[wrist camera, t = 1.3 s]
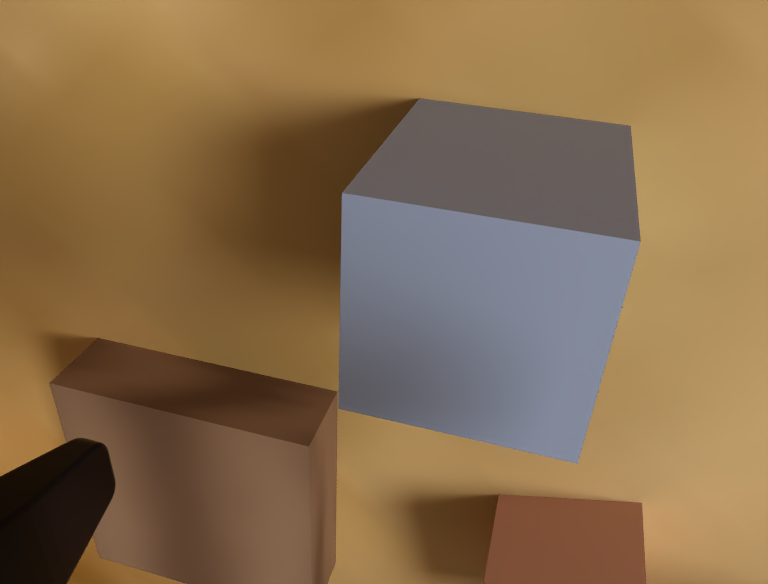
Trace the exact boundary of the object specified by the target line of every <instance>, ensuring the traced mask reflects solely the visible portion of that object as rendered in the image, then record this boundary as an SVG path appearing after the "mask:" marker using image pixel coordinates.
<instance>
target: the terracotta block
mask: <svg viewBox="0 0 768 584" xmlns="http://www.w3.org/2000/svg"><path fill="white" fill-rule="evenodd" d="M483 584H646V572H645V552H644V533H643V513H642V503H634V502H617V501H600V500H583V499H567V498H550V497H533V496H516V495H499V497H498V502H497V508H496V514H495V520H494V525H493V531H492V537H491V542H490V548H489V554H488V559H487V565H486V571H485V576H484V582H483Z"/></svg>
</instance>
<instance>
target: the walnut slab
mask: <svg viewBox="0 0 768 584" xmlns="http://www.w3.org/2000/svg"><path fill="white" fill-rule="evenodd" d="M50 387H51V390H52V394H53V397H54V401H55V404H56V408H57V411H58V415H59V418H60V422H61V425H62V429H63V432H64V436H65V439H66V443H67V442H69V441H71V440H73V439H76V438H86V439H90V440H94V441H97V442H101V443H103V444H105V446H106V447H107V448H108V451H109V455H110V460H111V464H112V468H113V472H114V476H115V481H116V486H115V492H114V495H113V498H112V500H111V502H110V504H109V506H108V508H107V510H106V511H105V513H104V515H103V517H102V519H101V521H100V523H99V524H98V526H97V528H96V530H95V532H94V534H93V537H94V540H95V544H96V547H97V551H98V554H99V557H100V558H103V559H106V560H110V561H113V562H116V563H120V564H123V565H126V566H130V567H133V568H136V569H140V570H143V571H146V572H150V573H153V574H156V575H160V576H163V577H166V578H170V579H173V580H176V581H180V582H183V583H186V584H327V583H328V581H329V578H330V576H331V573H332V570H333V568H334V565H335V560H336V474H337V391H332V390H328V389H323V388H319V387H314V386H310V385H305V384H301V383H296V382H292V381H287V380H283V379H279V378H274V377H270V376H265V375H261V374H256V373H252V372H247V371H243V370H238V369H234V368H229V367H225V366H220V365H216V364H211V363H207V362H203V361H198V360H194V359H189V358H185V357H180V356H176V355H171V354H167V353H162V352H158V351H153V350H149V349H144V348H140V347H135V346H131V345H127V344H122V343H118V342H113V341H109V340H104V339H100V338H98V339H97V340H96V341H95V342H94V343H93V344H92V345H90V346H89V347H88V348H87V349H86V350H85V351H84V352H83V353H82V354H81V355H80V356H79V357H77V358H76V359H75V360H74V361H73V362H72V363H71V364H70V365H69V366H68V367H67V368H66V369H64V370H63V371H62V372H61V373H60V374H59V375H58V376H57V377H56V378H55V379H54V380H53V381H51V382H50Z"/></svg>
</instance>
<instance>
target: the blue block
mask: <svg viewBox="0 0 768 584" xmlns="http://www.w3.org/2000/svg"><path fill="white" fill-rule="evenodd" d="M640 242H641V241H640V230H639V218H638V206H637V195H636V183H635V171H634V160H633V148H632V136H631V126H628V125H620V124H612V123H605V122H597V121H589V120H582V119H574V118H566V117H559V116H551V115H543V114H536V113H528V112H520V111H513V110H505V109H497V108H490V107H482V106H474V105H466V104H459V103H451V102H443V101H436V100H428V99H420V98H419V100H418V101H417V102H416V103H415V105H414V106H413V107H412V108H411V109H410V111H409V112H408V113H407V114H406V116H405V117H404V118H403V119H402V120H401V122H400V123H399V124H398V125H397V126H396V128H395V129H394V130H393V131H392V133H391V134H390V135H389V136H388V137H387V139H386V140H385V141H384V142H383V144H382V145H381V146H380V147H379V148H378V150H377V151H376V152H375V153H374V154H373V156H372V157H371V158H370V159H369V161H368V162H367V163H366V164H365V165H364V167H363V168H362V169H361V170H360V172H359V173H358V174H357V175H356V176H355V178H354V179H353V180H352V181H351V182H350V184H349V185H348V186H347V187H346V189H345V190H344V191H343V192H342V221H341V285H340V348H339V409H343V410H347V411H351V412H356V413H360V414H364V415H369V416H373V417H377V418H382V419H386V420H391V421H395V422H399V423H404V424H408V425H412V426H417V427H421V428H425V429H430V430H434V431H438V432H443V433H447V434H451V435H456V436H460V437H464V438H469V439H473V440H477V441H482V442H486V443H490V444H495V445H499V446H503V447H508V448H512V449H516V450H521V451H525V452H529V453H534V454H538V455H543V456H547V457H551V458H556V459H560V460H564V461H569V462H573V463H577V464H578V460H579V457H580V453H581V450H582V446H583V443H584V439H585V435H586V432H587V428H588V425H589V421H590V418H591V414H592V411H593V407H594V404H595V400H596V397H597V393H598V390H599V386H600V383H601V379H602V376H603V372H604V368H605V365H606V361H607V358H608V354H609V351H610V347H611V344H612V340H613V337H614V333H615V330H616V326H617V323H618V319H619V316H620V312H621V309H622V305H623V301H624V298H625V294H626V291H627V287H628V284H629V280H630V277H631V273H632V270H633V266H634V263H635V259H636V256H637V252H638V249H639V245H640Z"/></svg>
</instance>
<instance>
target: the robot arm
mask: <svg viewBox="0 0 768 584" xmlns="http://www.w3.org/2000/svg"><path fill="white" fill-rule="evenodd" d="M115 486H116V481H115V476H114V472H113V468H112V464H111V460H110V455H109V451H108V448H107V447H106V446H105V444H103V443H101V442H97V441H94V440H90V439H86V438H76V439H73V440H71V441H69V442H67V443H65V444H63V445H61V446H59V447H57V448H55V449H53V450H51V451H49V452H47V453H45V454H43V455H41V456H39V457H37V458H35V459H33V460H31V461H30V462H28V463H26V464H24V465H22V466H20V467H18V468H16V469H14V470H12V471H10V472H8V473H6V474H4V475H2V476H0V584H67V582H68V580H69V579H70V577H71V575H72V573H73V571H74V569H75V567H76V566H77V564H78V562H79V560H80V558H81V556H82V554H83V552H84V551H85V549H86V547H87V545H88V543H89V541H90V539H91V538H92V536H93V534H94V532H95V530H96V528H97V526H98V524H99V523H100V521H101V519H102V517H103V515H104V513H105V511H106V510H107V508H108V506H109V504H110V502H111V500H112V498H113V495H114V492H115Z"/></svg>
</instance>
